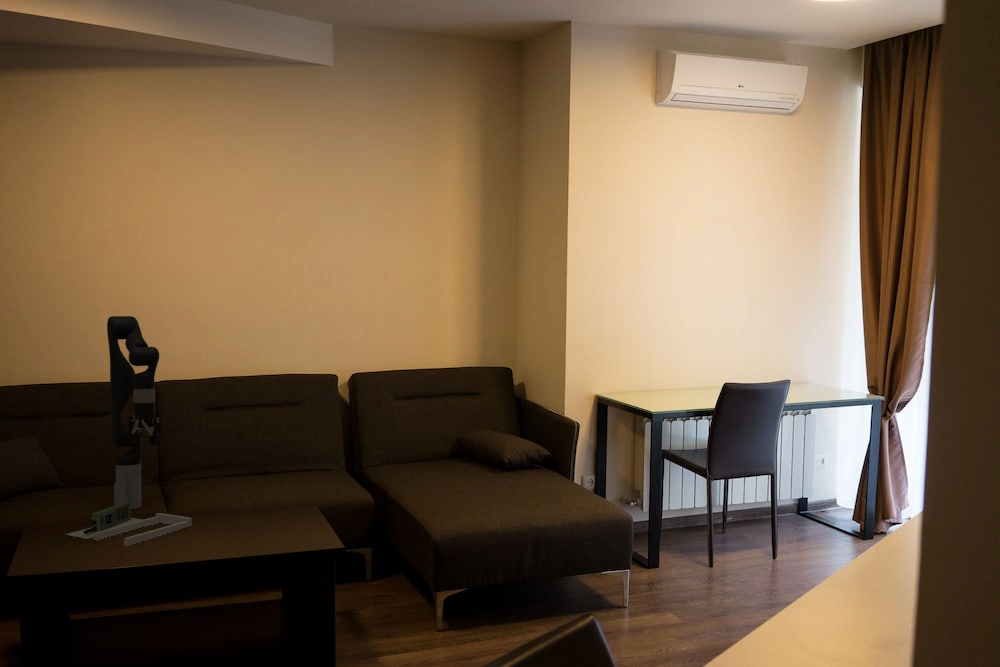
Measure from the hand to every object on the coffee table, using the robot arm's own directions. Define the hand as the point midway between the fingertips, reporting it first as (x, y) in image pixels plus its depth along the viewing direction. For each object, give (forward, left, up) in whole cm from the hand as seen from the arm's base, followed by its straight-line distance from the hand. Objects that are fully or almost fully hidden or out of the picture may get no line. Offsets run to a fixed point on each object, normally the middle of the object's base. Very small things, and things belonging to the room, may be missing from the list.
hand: (144, 444), depth 336 cm
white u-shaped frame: (+15, -15, -28) cm, 35 cm away
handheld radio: (-2, -15, -28) cm, 32 cm away
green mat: (-1, -15, -28) cm, 32 cm away
